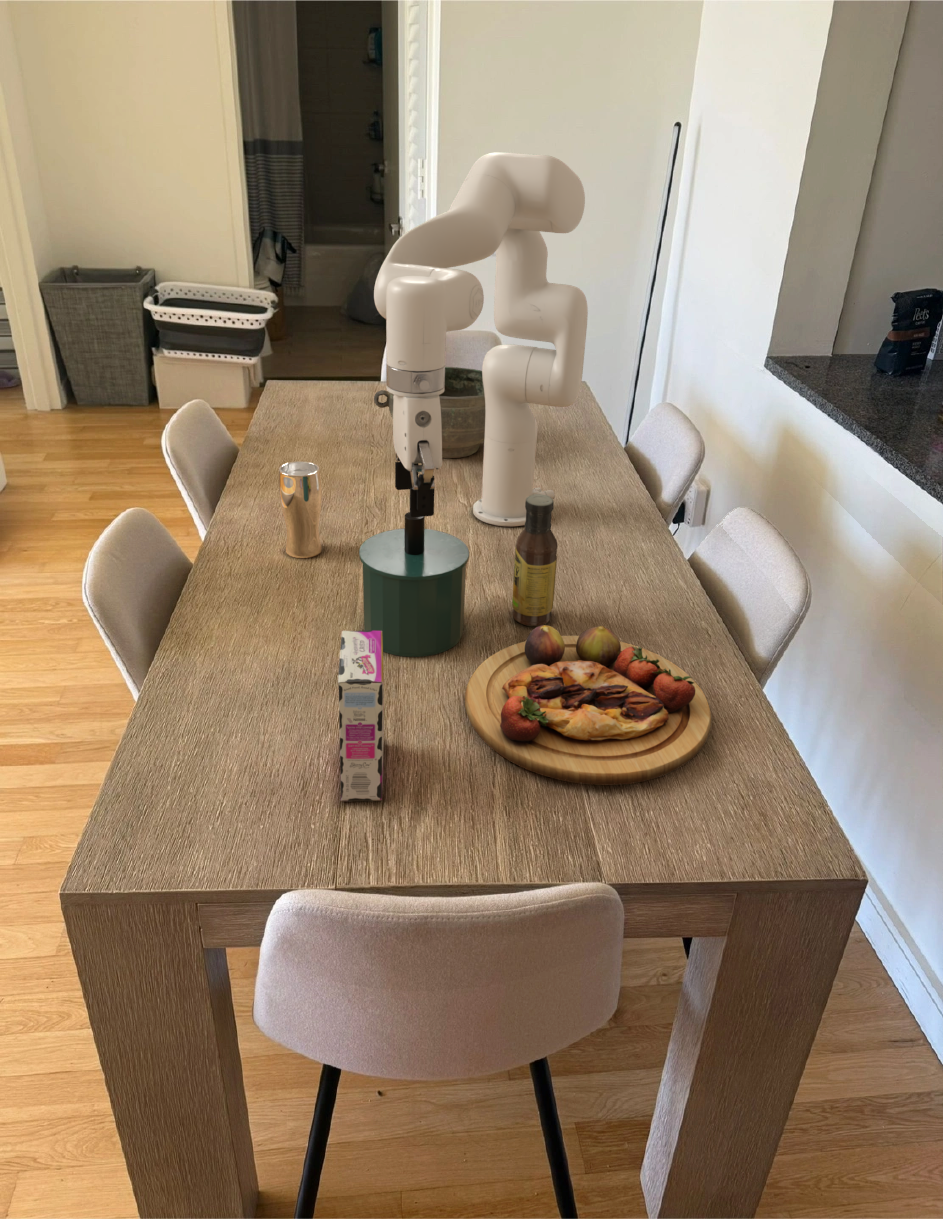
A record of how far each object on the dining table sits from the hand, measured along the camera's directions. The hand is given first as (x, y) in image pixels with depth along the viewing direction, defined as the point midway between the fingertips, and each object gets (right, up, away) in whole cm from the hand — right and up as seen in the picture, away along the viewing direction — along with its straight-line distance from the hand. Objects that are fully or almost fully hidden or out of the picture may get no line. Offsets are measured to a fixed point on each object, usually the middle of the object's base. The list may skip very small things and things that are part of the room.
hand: (413, 501), depth 130 cm
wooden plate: (+23, -28, -6) cm, 37 cm away
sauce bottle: (+17, -16, +15) cm, 28 cm away
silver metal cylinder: (-21, -5, +32) cm, 39 cm away
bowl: (+3, +21, +80) cm, 83 cm away
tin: (-1, -18, +11) cm, 21 cm away
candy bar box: (-5, -34, -18) cm, 39 cm away
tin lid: (0, -7, +4) cm, 8 cm away
